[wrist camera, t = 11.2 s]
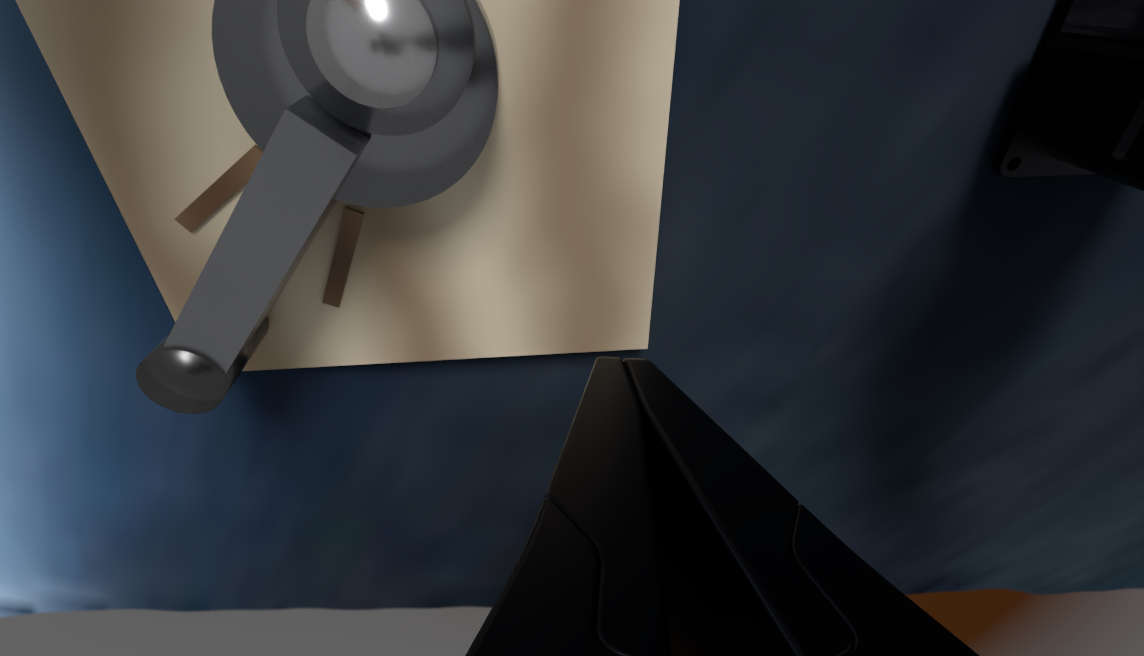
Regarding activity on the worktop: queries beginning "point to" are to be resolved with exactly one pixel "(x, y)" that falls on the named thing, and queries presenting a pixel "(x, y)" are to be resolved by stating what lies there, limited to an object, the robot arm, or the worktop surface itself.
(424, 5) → the grey metal handled piece
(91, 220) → the worktop surface
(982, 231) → the worktop surface
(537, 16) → the level board
